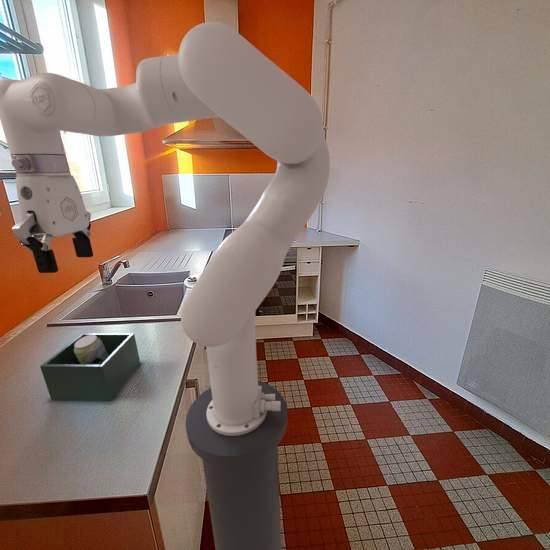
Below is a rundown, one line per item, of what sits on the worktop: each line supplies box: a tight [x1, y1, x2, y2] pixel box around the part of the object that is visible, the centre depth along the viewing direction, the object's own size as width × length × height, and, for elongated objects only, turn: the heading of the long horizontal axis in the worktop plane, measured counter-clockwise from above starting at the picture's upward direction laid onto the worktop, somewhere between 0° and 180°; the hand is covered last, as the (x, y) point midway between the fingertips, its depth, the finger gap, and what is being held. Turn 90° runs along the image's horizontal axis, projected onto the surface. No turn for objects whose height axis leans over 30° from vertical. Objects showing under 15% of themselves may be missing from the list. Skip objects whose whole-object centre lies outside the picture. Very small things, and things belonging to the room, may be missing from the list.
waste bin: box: [39, 332, 141, 402], centre depth 76 cm, size 15×15×10 cm
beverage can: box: [74, 335, 109, 365], centre depth 75 cm, size 6×7×12 cm
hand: (68, 264), depth 56 cm, fingers open, 9 cm apart
